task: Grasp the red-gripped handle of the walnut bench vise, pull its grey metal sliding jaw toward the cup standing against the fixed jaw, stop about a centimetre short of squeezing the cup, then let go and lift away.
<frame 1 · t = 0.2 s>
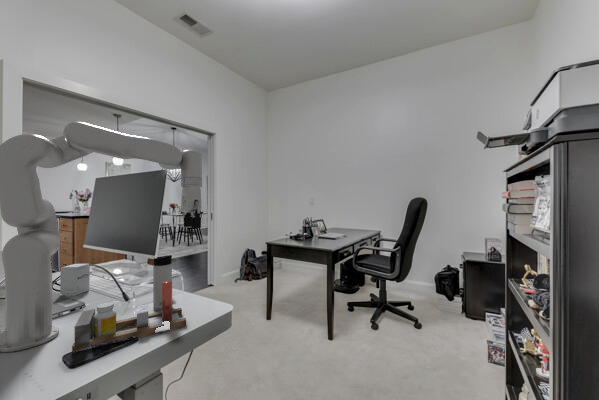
hand: (192, 227, 99), 30 cm above the table, tool pointing down, fingers open, 9 cm apart
supplement box 2: (75, 293, 117), on the table
vise slider: (158, 303, 84), point 7 cm above the table, slide at 0.0 cm
supplement bottle: (105, 338, 77), resting in vise bench
travel mug: (163, 308, 98), on the table
vise bench: (127, 332, 80), on the table
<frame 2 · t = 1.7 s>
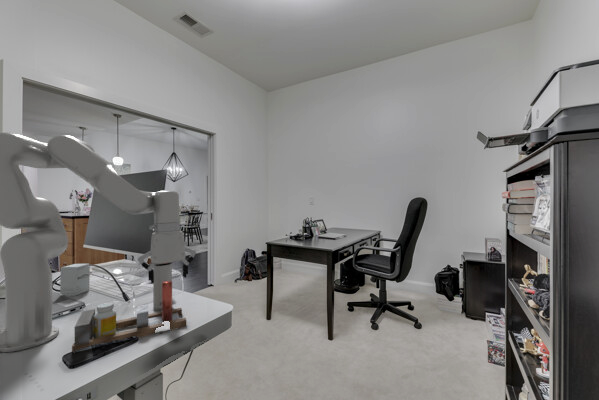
hand: (169, 279, 86), 14 cm above the table, tool pointing down, fingers open, 9 cm apart
nothing on the table moved.
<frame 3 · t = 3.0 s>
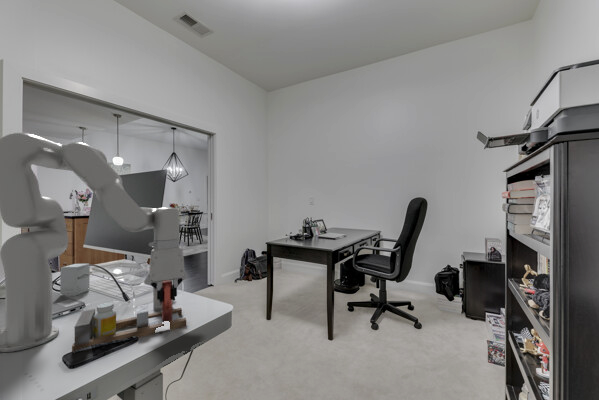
hand: (167, 299, 86), 8 cm above the table, tool pointing down, fingers closed on vise slider, 3 cm apart
vise slider: (158, 303, 84), point 7 cm above the table, slide at 0.0 cm, touching gripper
everything else where it was.
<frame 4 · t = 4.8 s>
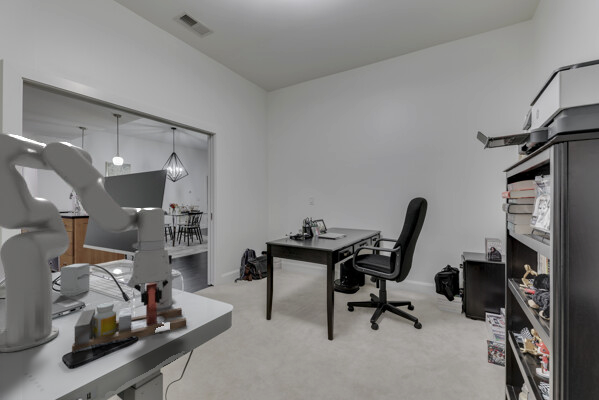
hand: (151, 302, 83), 8 cm above the table, tool pointing down, fingers closed on vise slider, 3 cm apart
vise slider: (142, 306, 82), point 7 cm above the table, slide at 4.5 cm, touching gripper
everything else where it was.
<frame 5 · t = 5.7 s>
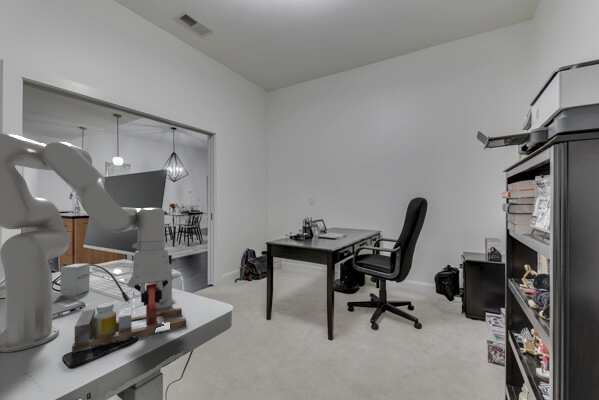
hand: (151, 302, 83), 8 cm above the table, tool pointing down, fingers closed on vise slider, 3 cm apart
vise slider: (142, 306, 82), point 7 cm above the table, slide at 4.5 cm, touching gripper
everything else where it was.
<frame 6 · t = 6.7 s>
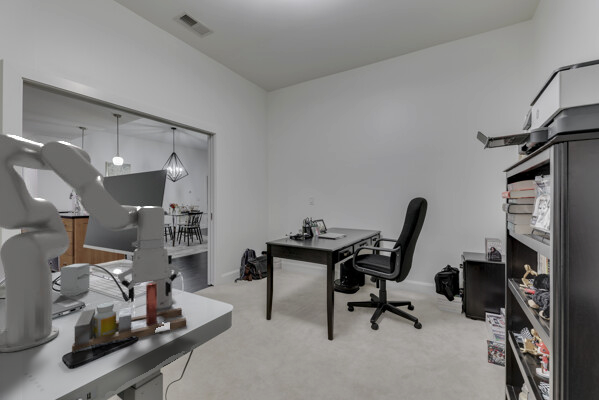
hand: (150, 297, 83), 9 cm above the table, tool pointing down, fingers open, 9 cm apart
vise slider: (142, 306, 82), point 7 cm above the table, slide at 4.5 cm
everything else where it was.
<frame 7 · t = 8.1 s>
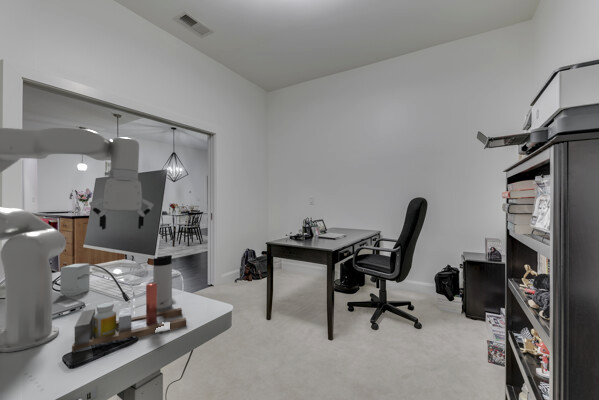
hand: (122, 228, 84), 32 cm above the table, tool pointing down, fingers open, 9 cm apart
nothing on the table moved.
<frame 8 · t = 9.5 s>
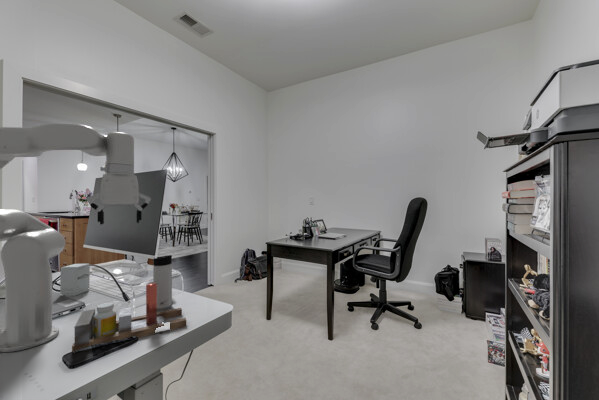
hand: (120, 223, 84), 33 cm above the table, tool pointing down, fingers open, 9 cm apart
nothing on the table moved.
at the end: vise slider slide at 4.5 cm; supplement bottle moved 0.2 cm from its start; supplement bottle tilted 0° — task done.
